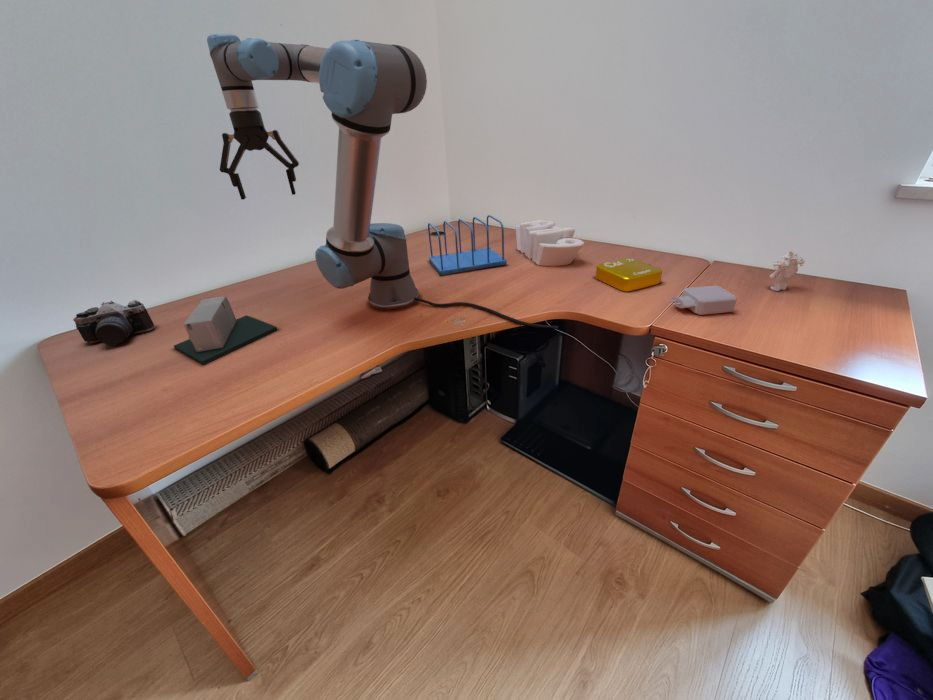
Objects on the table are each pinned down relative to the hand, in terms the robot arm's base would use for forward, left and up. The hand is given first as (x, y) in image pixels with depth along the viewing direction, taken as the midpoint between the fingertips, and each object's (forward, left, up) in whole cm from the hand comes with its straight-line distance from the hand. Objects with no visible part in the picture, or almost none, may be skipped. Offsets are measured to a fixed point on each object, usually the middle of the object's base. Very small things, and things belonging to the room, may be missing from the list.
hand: (269, 196), depth 114 cm
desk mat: (-9, +28, -31) cm, 43 cm away
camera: (+18, +44, -31) cm, 57 cm away
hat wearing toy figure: (-129, -73, -31) cm, 151 cm away
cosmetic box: (-1, +25, -25) cm, 36 cm away
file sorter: (-33, -50, -31) cm, 68 cm away
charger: (-110, -48, -31) cm, 124 cm away
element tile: (-89, -60, -31) cm, 112 cm away
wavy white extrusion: (-55, -73, -31) cm, 96 cm away
